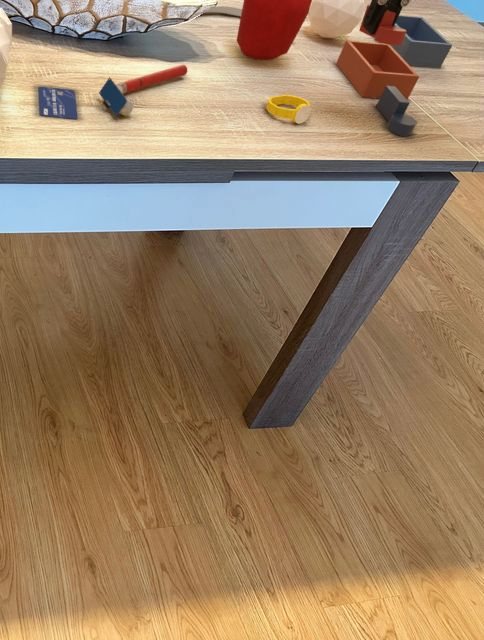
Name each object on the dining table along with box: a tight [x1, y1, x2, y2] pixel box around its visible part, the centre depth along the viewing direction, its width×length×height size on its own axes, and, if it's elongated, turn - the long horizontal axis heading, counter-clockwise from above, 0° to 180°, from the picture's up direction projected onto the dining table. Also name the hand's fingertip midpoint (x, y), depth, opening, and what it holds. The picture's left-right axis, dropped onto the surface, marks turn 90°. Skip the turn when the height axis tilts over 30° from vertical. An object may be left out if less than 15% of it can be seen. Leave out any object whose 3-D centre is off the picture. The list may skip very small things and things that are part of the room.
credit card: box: [37, 86, 79, 120], centre depth 105 cm, size 8×5×1 cm, turn 0°
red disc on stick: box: [358, 4, 407, 45], centre depth 104 cm, size 9×4×4 cm, turn 4°
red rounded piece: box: [236, 0, 313, 61], centre depth 120 cm, size 11×10×14 cm
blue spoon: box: [375, 86, 418, 137], centre depth 112 cm, size 9×4×4 cm, turn 4°
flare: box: [115, 64, 188, 95], centre depth 111 cm, size 2×15×2 cm
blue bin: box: [378, 14, 453, 69], centre depth 132 cm, size 12×8×4 cm, turn 4°
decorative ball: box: [307, 0, 366, 39], centre depth 131 cm, size 9×10×12 cm
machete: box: [202, 6, 242, 17], centre depth 134 cm, size 26×2×5 cm
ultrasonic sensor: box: [98, 76, 134, 118], centre depth 105 cm, size 6×2×3 cm, turn 20°
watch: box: [265, 93, 311, 125], centre depth 110 cm, size 6×3×6 cm
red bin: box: [335, 39, 420, 100], centre depth 121 cm, size 12×8×4 cm, turn 4°
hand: (375, 30), depth 105 cm, fingers closed on red disc on stick, 1 cm apart
